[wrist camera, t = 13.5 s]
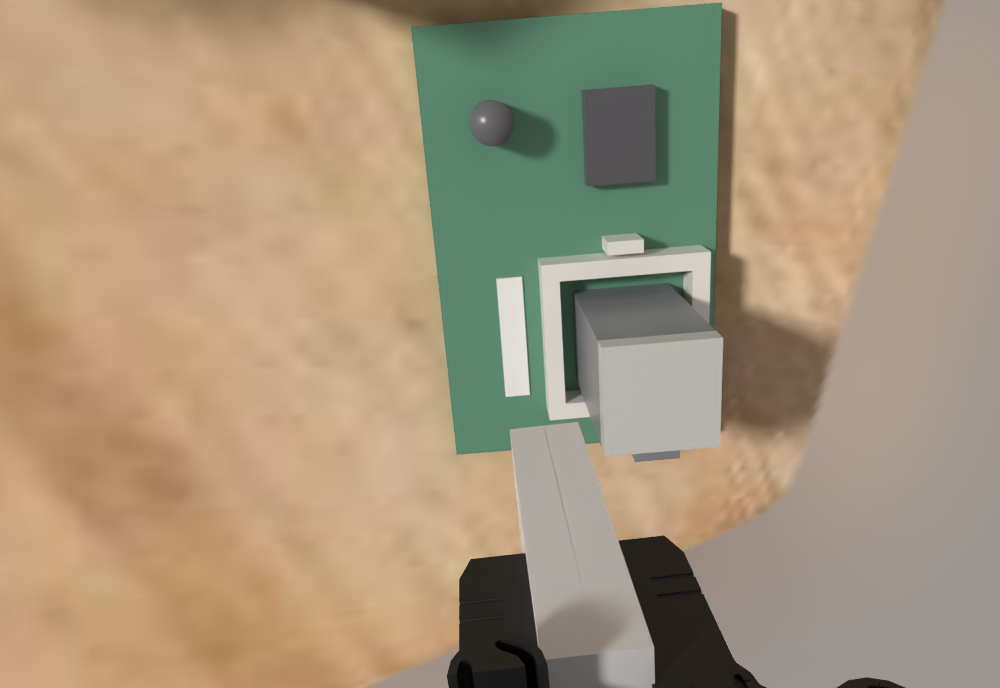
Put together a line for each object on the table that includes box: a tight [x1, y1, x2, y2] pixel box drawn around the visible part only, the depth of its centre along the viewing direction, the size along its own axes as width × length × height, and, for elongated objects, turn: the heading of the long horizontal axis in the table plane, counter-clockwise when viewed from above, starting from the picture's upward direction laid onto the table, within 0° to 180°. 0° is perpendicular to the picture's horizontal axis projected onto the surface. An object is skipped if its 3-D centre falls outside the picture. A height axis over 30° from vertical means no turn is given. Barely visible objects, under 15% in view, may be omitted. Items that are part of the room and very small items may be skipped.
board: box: [411, 3, 722, 455], centre depth 33 cm, size 20×13×3 cm, turn 4°
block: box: [573, 283, 723, 462], centre depth 31 cm, size 5×4×8 cm
